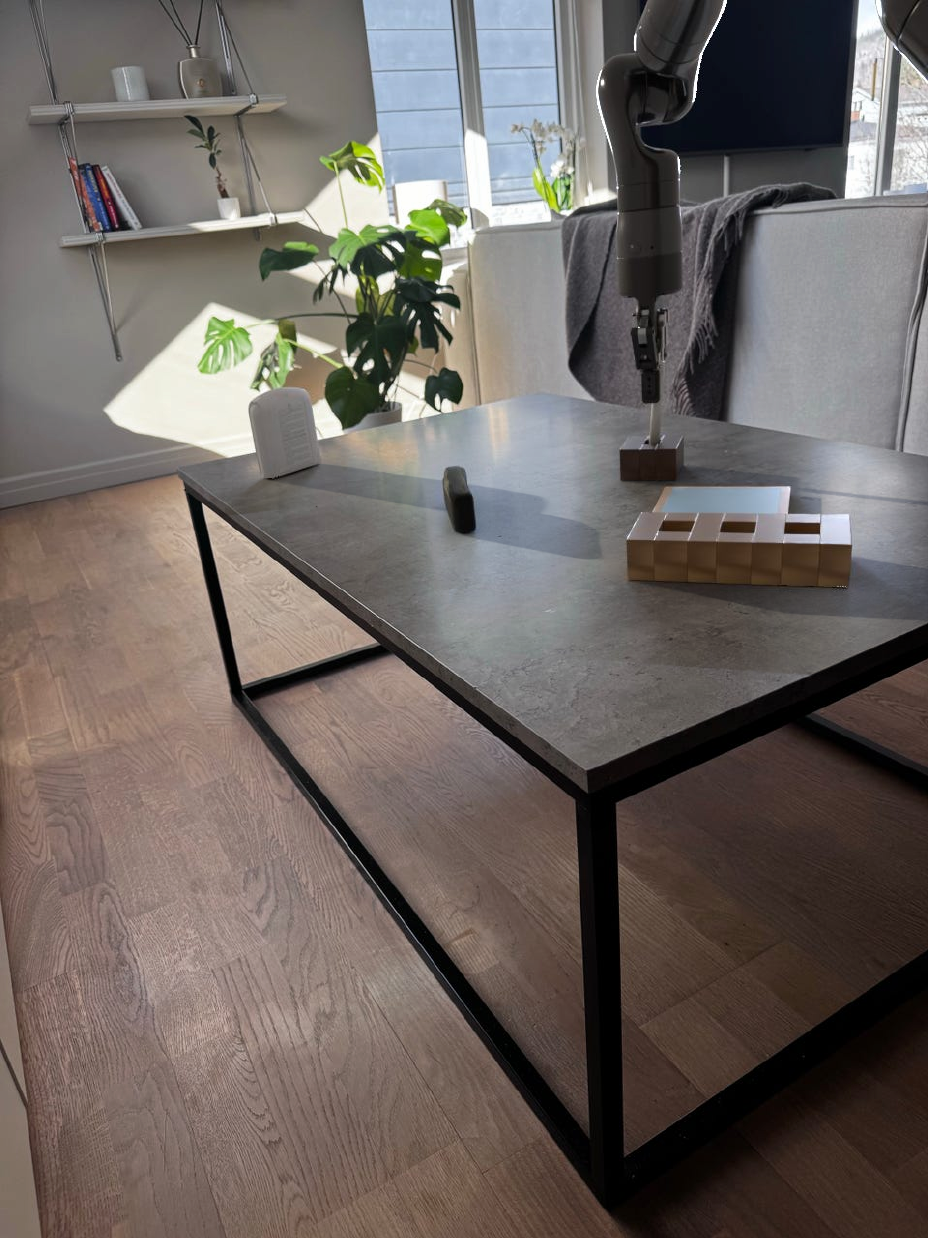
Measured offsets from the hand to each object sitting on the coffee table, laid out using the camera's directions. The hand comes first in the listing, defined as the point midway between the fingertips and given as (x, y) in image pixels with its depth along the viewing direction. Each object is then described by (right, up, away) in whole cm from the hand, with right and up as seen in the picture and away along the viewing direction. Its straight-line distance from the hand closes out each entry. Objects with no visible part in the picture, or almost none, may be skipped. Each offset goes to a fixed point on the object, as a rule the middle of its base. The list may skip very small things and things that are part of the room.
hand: (652, 400), depth 110 cm
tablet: (+4, -16, -15) cm, 23 cm away
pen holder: (+2, -22, -28) cm, 36 cm away
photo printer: (-50, -5, +25) cm, 56 cm away
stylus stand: (+1, -8, +4) cm, 9 cm away
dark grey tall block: (-24, -15, -4) cm, 29 cm away
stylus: (+1, -6, +3) cm, 7 cm away
